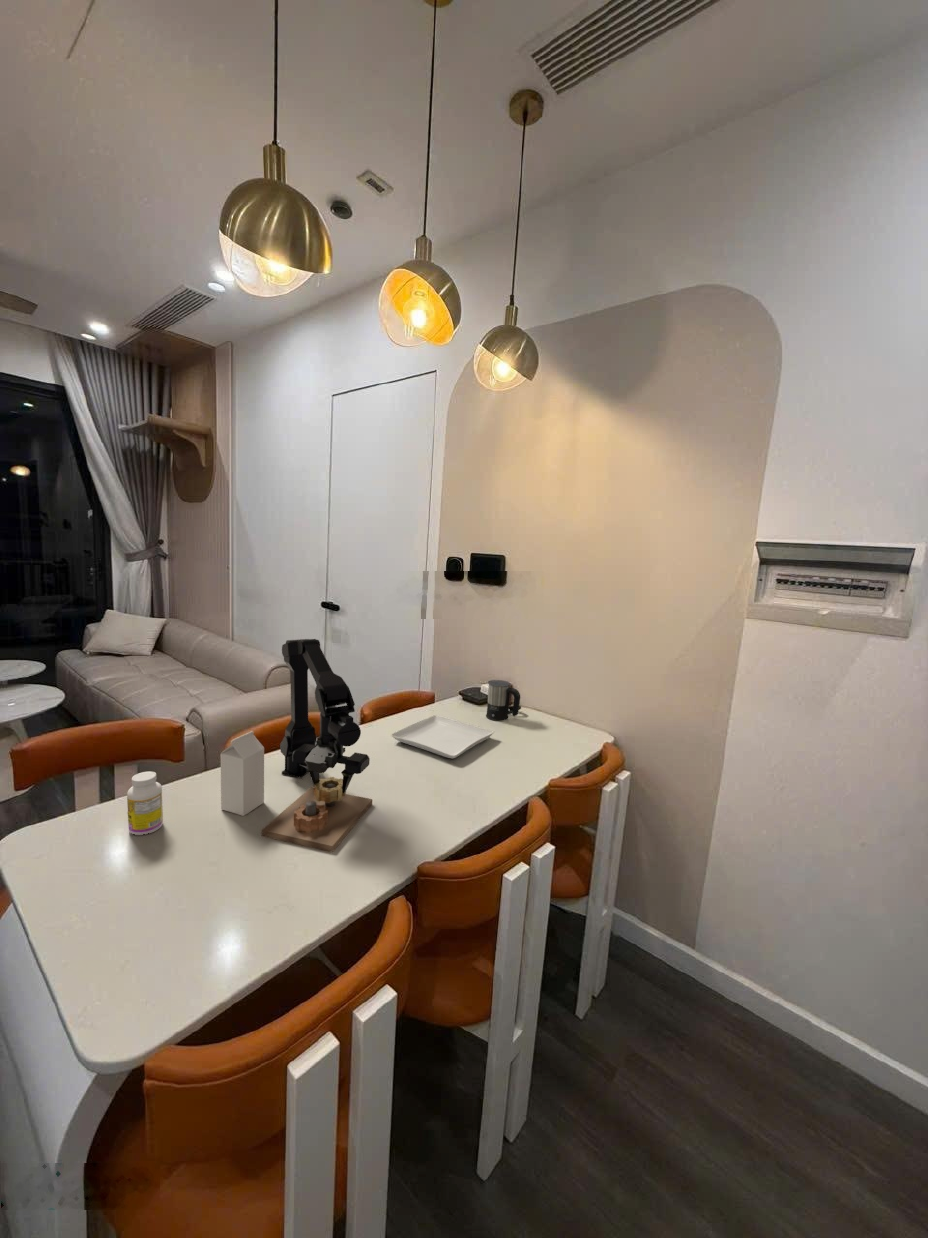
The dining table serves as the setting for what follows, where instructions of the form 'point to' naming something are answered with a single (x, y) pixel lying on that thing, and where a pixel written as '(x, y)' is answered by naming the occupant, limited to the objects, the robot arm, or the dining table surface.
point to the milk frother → (501, 700)
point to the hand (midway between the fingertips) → (330, 789)
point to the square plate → (442, 736)
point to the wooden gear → (329, 790)
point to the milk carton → (242, 775)
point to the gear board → (329, 832)
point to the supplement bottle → (144, 804)
